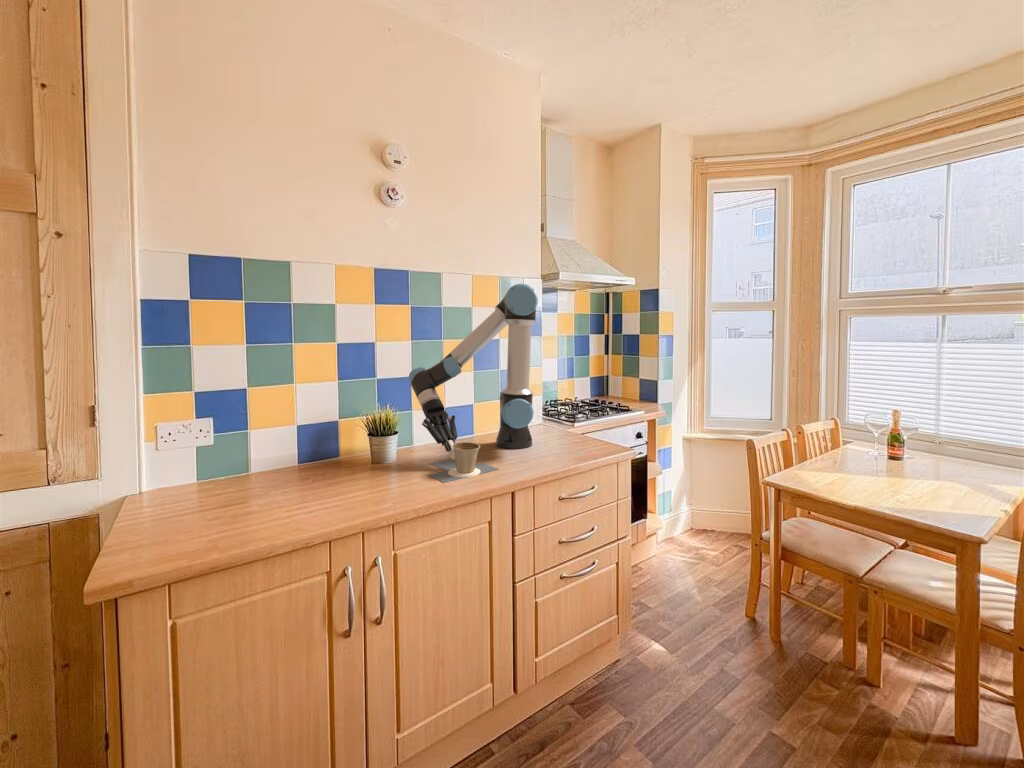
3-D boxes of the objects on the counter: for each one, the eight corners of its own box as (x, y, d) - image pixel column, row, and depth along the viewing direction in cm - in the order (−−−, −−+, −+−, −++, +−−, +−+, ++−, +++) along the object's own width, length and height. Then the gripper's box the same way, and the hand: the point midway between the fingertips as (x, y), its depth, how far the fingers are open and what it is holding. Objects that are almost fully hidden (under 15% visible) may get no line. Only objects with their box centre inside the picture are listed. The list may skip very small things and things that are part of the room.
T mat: (411, 467, 163) (411, 466, 163) (464, 456, 176) (464, 455, 176) (444, 483, 145) (444, 482, 145) (500, 470, 159) (500, 469, 159)
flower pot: (479, 465, 163) (479, 442, 161) (480, 475, 153) (480, 449, 152) (452, 465, 162) (452, 441, 160) (451, 475, 152) (451, 449, 151)
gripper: (443, 408, 177) (467, 460, 166) (411, 412, 169) (435, 467, 158) (450, 396, 172) (475, 448, 161) (418, 399, 164) (443, 455, 153)
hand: (456, 457), depth 160 cm, fingers closed
